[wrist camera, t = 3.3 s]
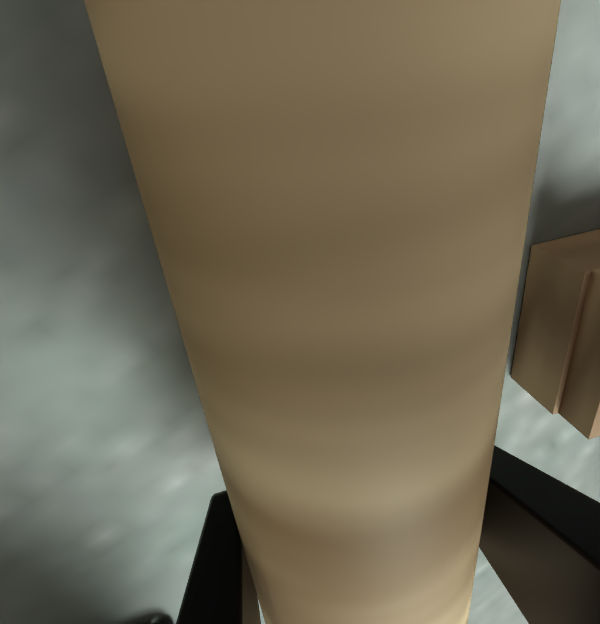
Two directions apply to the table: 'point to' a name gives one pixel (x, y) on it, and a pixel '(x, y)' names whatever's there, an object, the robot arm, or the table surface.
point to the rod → (341, 269)
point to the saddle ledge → (562, 330)
